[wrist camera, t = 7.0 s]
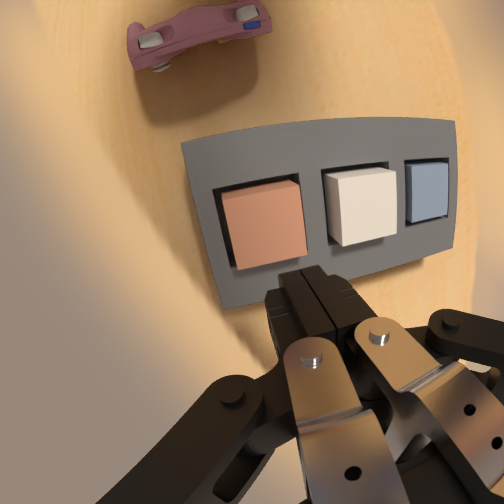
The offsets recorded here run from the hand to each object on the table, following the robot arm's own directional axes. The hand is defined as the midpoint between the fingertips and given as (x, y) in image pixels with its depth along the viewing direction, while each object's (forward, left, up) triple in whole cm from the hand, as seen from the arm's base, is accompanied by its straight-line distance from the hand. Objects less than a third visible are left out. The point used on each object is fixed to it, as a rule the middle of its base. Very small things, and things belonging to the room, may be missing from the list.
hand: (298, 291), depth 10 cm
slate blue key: (0, +14, -11) cm, 18 cm away
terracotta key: (0, 0, -9) cm, 9 cm away
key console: (0, +7, -12) cm, 14 cm away
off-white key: (0, +7, -9) cm, 12 cm away
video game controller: (-15, -2, -13) cm, 19 cm away
